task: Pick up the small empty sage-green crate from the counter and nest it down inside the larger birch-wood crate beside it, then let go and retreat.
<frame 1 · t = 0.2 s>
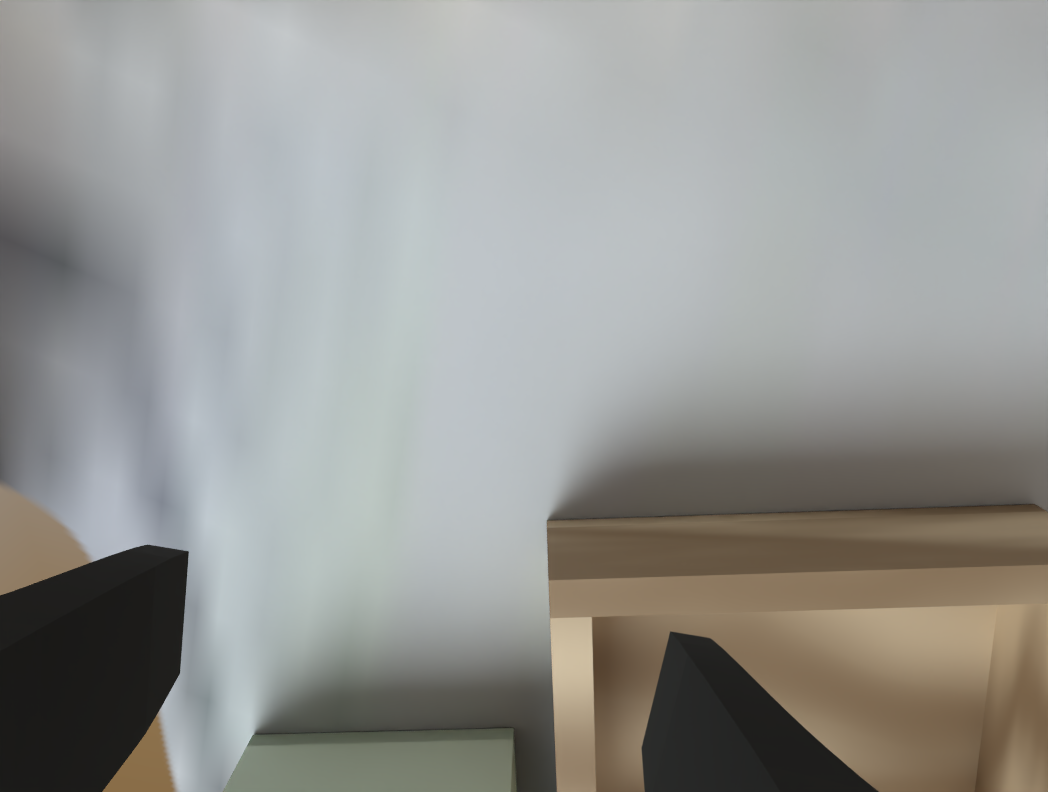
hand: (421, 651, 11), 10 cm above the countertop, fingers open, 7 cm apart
crate: (781, 677, 22), on the countertop
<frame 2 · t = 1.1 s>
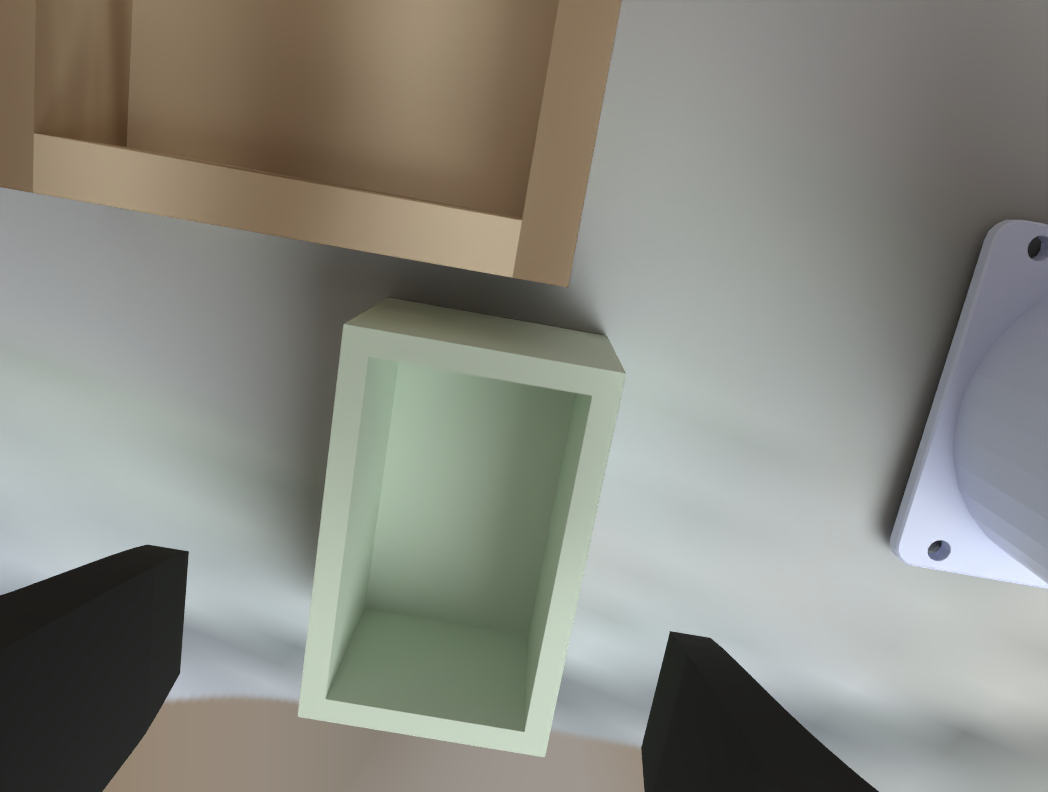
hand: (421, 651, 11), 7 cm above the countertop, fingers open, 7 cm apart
sage crate: (470, 481, 18), on the countertop
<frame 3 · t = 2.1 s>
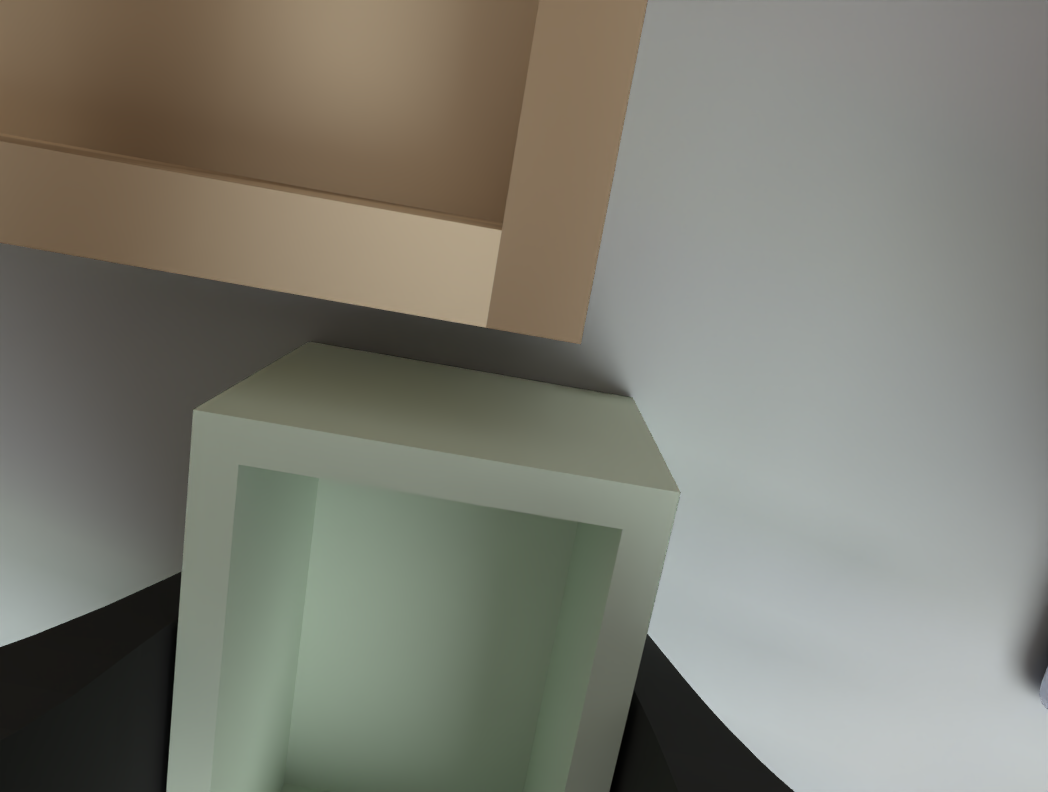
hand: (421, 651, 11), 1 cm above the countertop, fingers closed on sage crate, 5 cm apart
sage crate: (434, 603, 13), on the countertop, touching gripper
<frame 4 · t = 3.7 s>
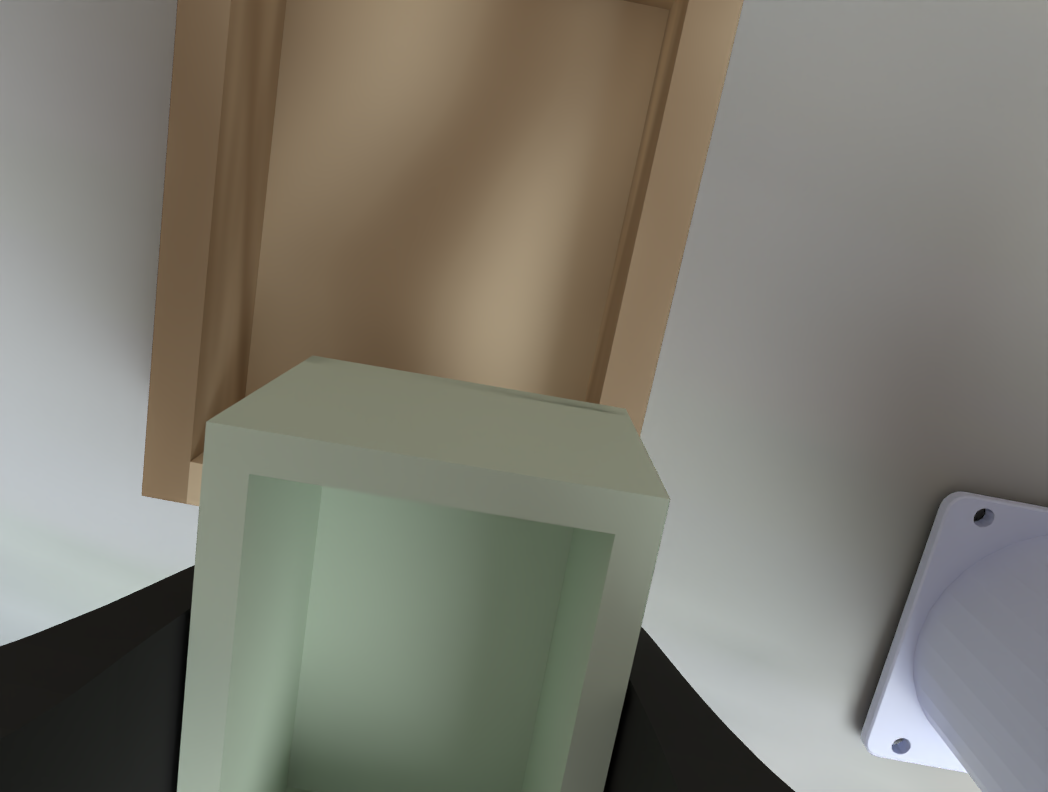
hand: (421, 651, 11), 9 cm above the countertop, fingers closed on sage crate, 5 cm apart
sage crate: (433, 609, 13), point 8 cm above the countertop, touching gripper
crate: (443, 230, 19), on the countertop
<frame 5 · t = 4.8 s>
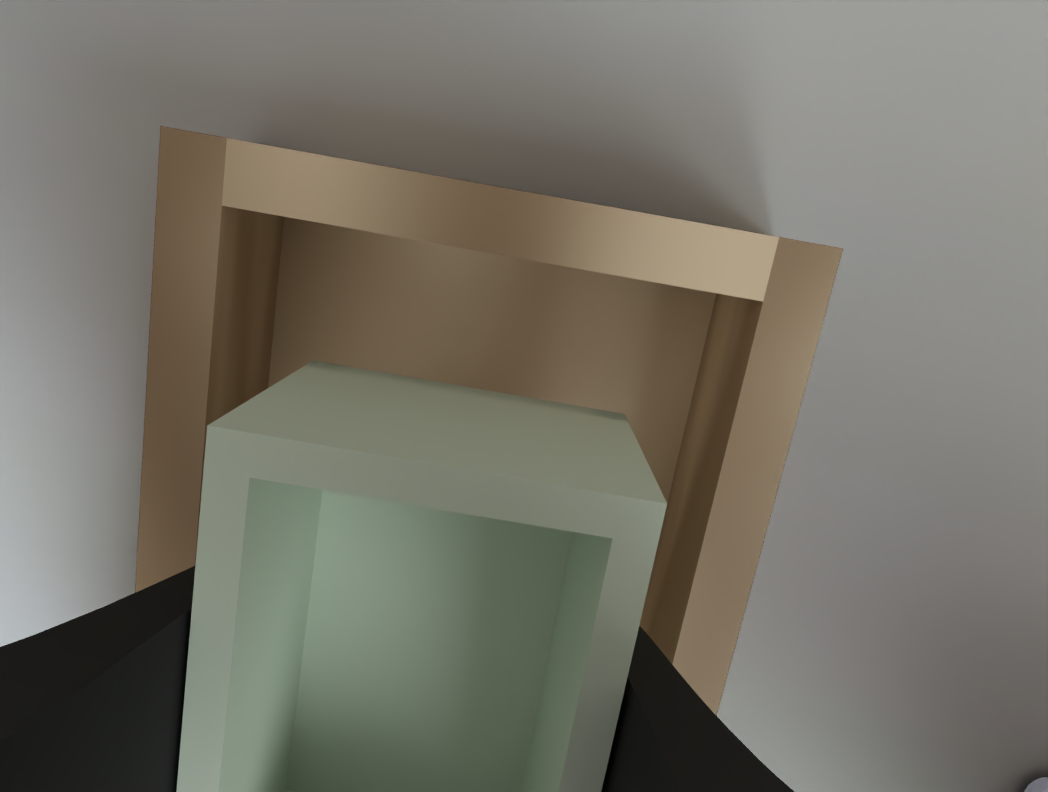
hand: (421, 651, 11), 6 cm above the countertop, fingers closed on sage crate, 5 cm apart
sage crate: (433, 613, 13), point 4 cm above the countertop, touching gripper
crate: (460, 509, 17), on the countertop
when the fingers open (4 cm above the countertop, at t = 5.6 s): sage crate drops 2 cm, resting on crate.
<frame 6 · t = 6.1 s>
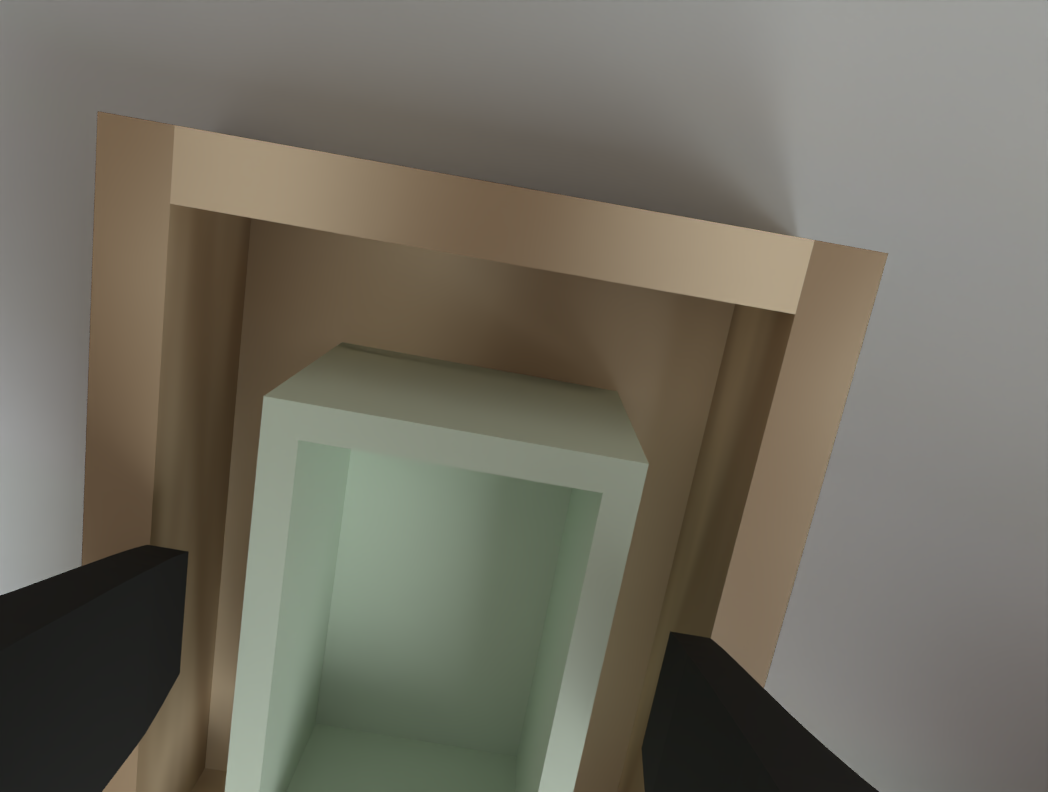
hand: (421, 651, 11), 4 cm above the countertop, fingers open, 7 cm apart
sage crate: (446, 567, 15), resting on crate
crate: (451, 539, 15), on the countertop
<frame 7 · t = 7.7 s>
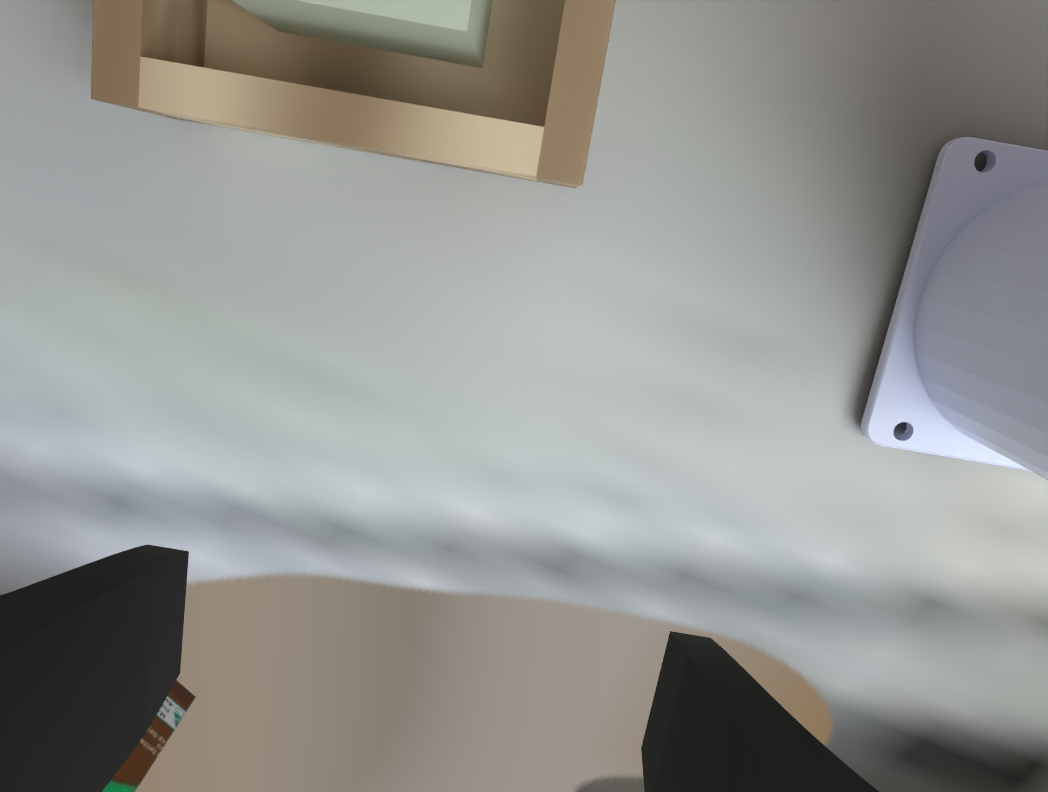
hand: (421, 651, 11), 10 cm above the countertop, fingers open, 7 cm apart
food container: (25, 702, 24), on the countertop
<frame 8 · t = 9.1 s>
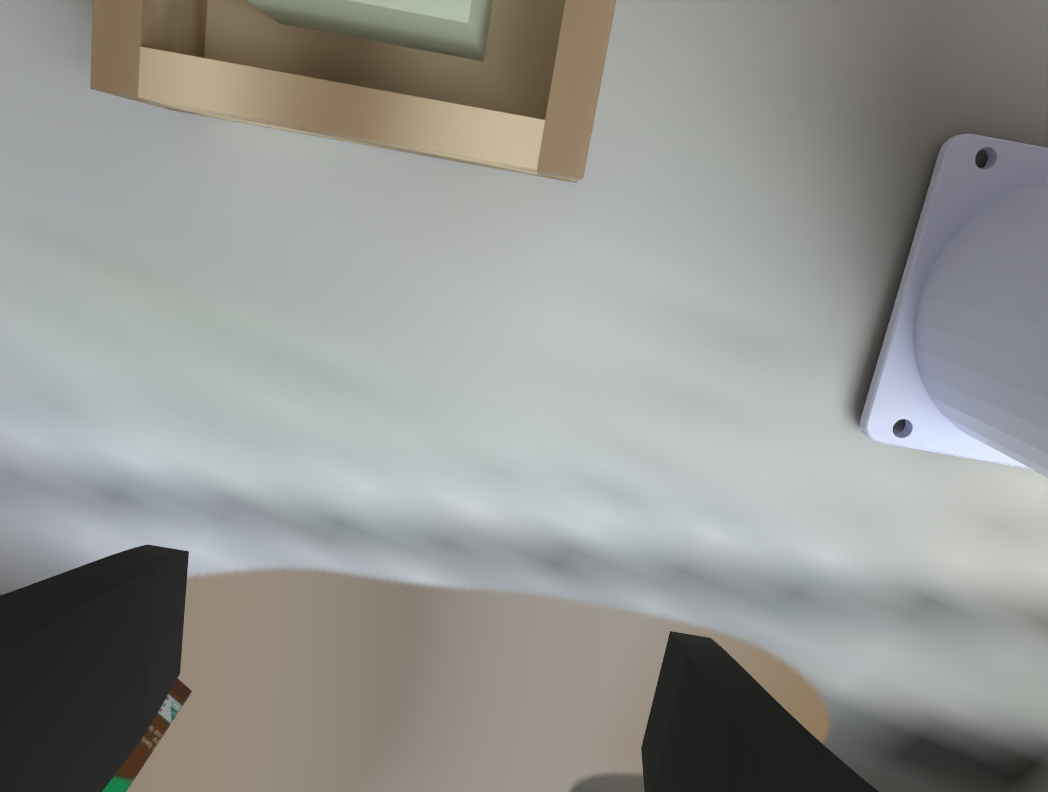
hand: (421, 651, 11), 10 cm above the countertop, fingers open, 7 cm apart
food container: (20, 696, 24), on the countertop
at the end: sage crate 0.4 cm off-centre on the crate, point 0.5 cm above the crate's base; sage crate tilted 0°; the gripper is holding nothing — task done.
